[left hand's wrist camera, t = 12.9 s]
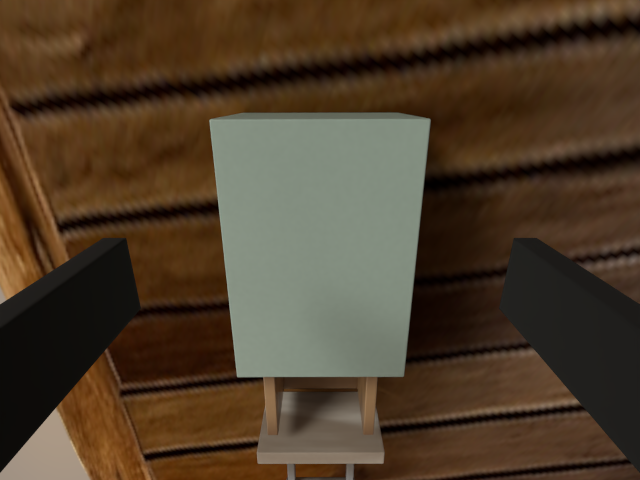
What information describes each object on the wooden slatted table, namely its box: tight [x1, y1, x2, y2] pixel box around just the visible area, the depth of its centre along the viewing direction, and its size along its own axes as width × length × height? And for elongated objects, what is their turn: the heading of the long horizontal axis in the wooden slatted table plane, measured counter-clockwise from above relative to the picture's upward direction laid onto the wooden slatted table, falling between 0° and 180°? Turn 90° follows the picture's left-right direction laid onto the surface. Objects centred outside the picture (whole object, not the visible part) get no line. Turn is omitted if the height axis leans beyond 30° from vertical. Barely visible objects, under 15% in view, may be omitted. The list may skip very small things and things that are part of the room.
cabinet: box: [210, 113, 431, 377], centre depth 24 cm, size 16×11×8 cm
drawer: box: [257, 377, 384, 480], centre depth 29 cm, size 21×10×6 cm, turn 0°
